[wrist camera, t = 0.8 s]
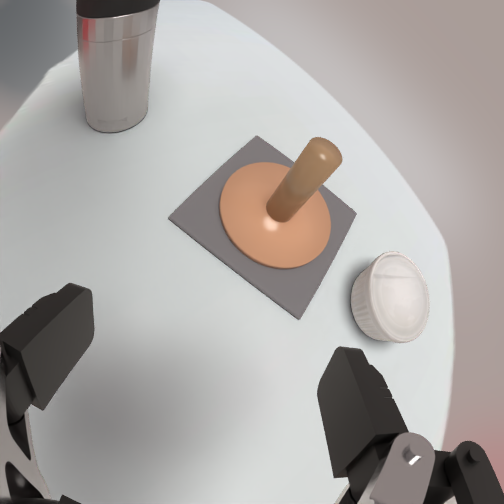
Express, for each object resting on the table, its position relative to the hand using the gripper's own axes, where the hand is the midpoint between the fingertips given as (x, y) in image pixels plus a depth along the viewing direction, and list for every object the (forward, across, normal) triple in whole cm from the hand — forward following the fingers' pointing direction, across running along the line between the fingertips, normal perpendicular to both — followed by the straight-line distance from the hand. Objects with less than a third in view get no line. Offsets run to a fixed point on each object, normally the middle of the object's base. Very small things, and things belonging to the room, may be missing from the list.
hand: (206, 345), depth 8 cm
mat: (+27, -4, 0) cm, 27 cm away
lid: (+27, -4, 0) cm, 27 cm away
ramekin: (+24, -20, +8) cm, 32 cm away
